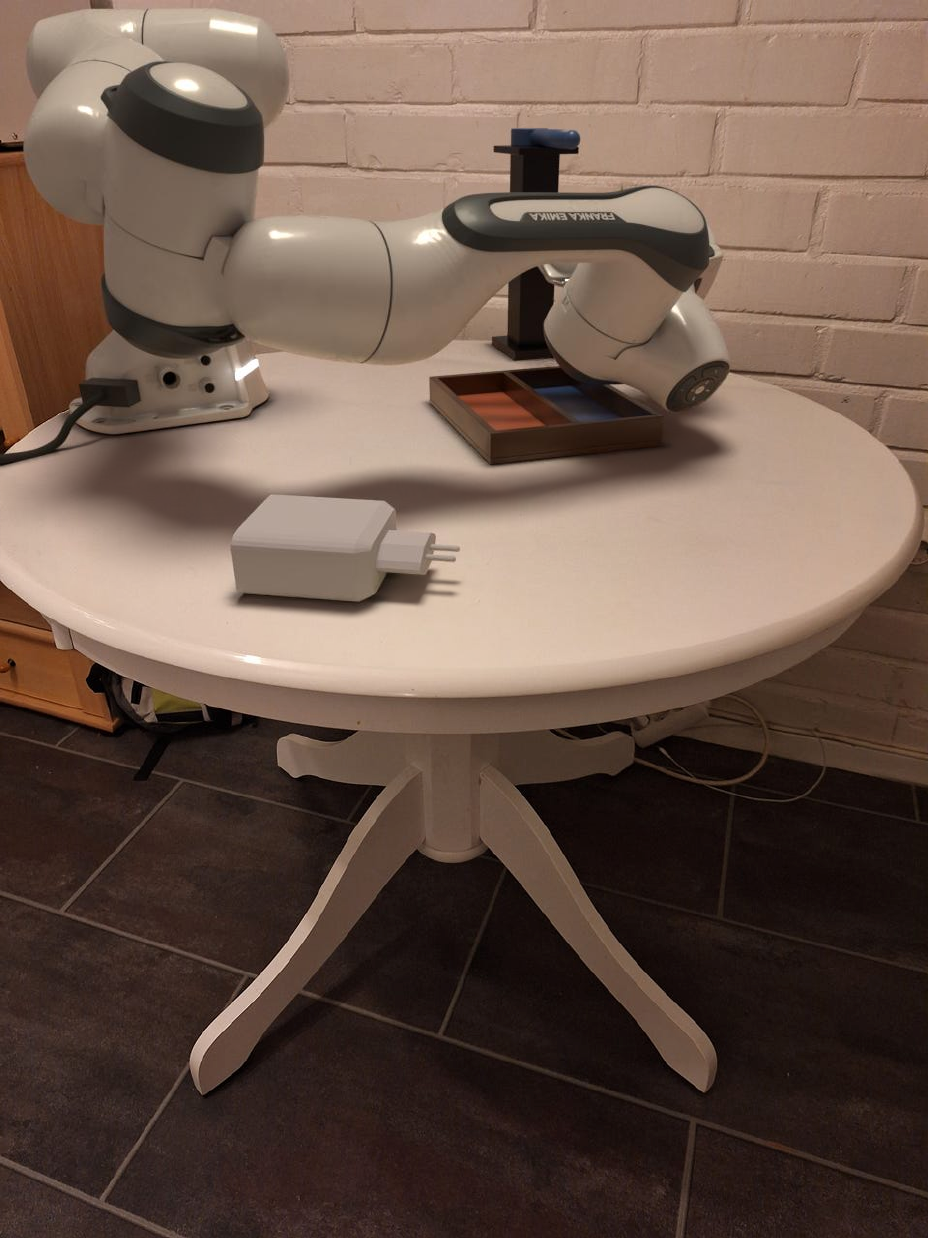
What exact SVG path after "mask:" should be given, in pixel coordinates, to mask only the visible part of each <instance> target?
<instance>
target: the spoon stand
mask: <svg viewBox="0 0 928 1238" xmlns="http://www.w3.org/2000/svg"><path fill="white" fill-rule="evenodd" d="M579 151H580V147H579V146H577V147H576V148H574V149H563V148H551V147H538V146H511V144H510V145H509V144H508V145H507V144H505V145H493V153H496V154H505V155H510V157H509V159H510V160H509V161H510V162H509V192H559V184H560V183H559V182H560V162H561V161H560V160H561V158H560V157H561V155H579ZM555 286H556V285H554V284H552V283H549V282H548V281H547V280H546V278H545V276H544V274H543V273H542V272H541V270H540V269H539V267H538V266H536V267H534V268H531V269H529V270H527V271H525V272H523V273H521V274H520V275H518V276H517V277H515V278H514V279H513V280H511V281H510V282H509V283H507V334H506V335H497V336H495V335H494V336H492V337H491V346H493V347H494V348H496V349H497V350H499V351H501V352H502V353H503V354H505V355H506V356H507V357H509V358H511V359H512V360H514V361H524V360H535V359H549V358H554V357H553V356H552V354H551V352H550V350H549V348H548V346H547V343H546V340H545V337H544V331H543V323H544V320H545V319H546V317H547V315H548V313H549V311H550V309H551V308H552V306H553V304H554V303H555Z"/></svg>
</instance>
